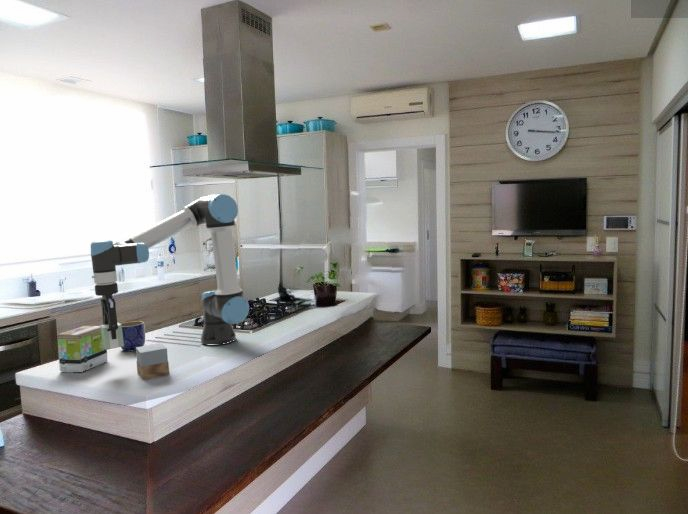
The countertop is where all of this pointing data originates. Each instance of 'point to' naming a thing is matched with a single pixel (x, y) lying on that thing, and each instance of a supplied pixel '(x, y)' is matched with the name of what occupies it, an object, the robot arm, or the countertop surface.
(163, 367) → the tower base
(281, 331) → the countertop surface
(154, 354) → the tower top
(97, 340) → the tea box
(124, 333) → the planter
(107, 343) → the green block
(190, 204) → the robot arm
